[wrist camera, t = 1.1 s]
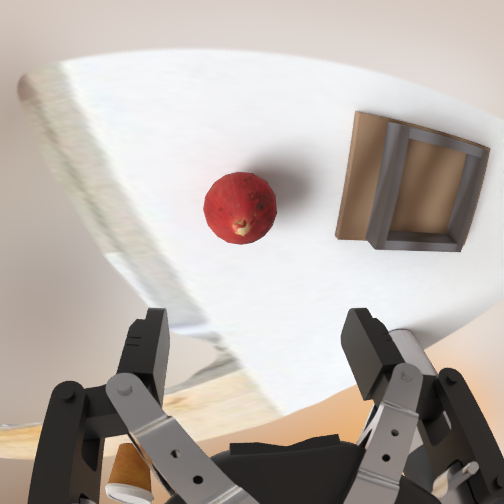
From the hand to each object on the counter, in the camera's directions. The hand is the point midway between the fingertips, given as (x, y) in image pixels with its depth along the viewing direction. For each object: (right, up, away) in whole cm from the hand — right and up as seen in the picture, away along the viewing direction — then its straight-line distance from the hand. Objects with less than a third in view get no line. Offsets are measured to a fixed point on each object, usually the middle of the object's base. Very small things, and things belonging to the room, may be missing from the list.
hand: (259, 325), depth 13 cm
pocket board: (+18, +10, +16) cm, 26 cm away
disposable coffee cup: (-24, -37, +38) cm, 58 cm away
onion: (-2, +9, +15) cm, 18 cm away
